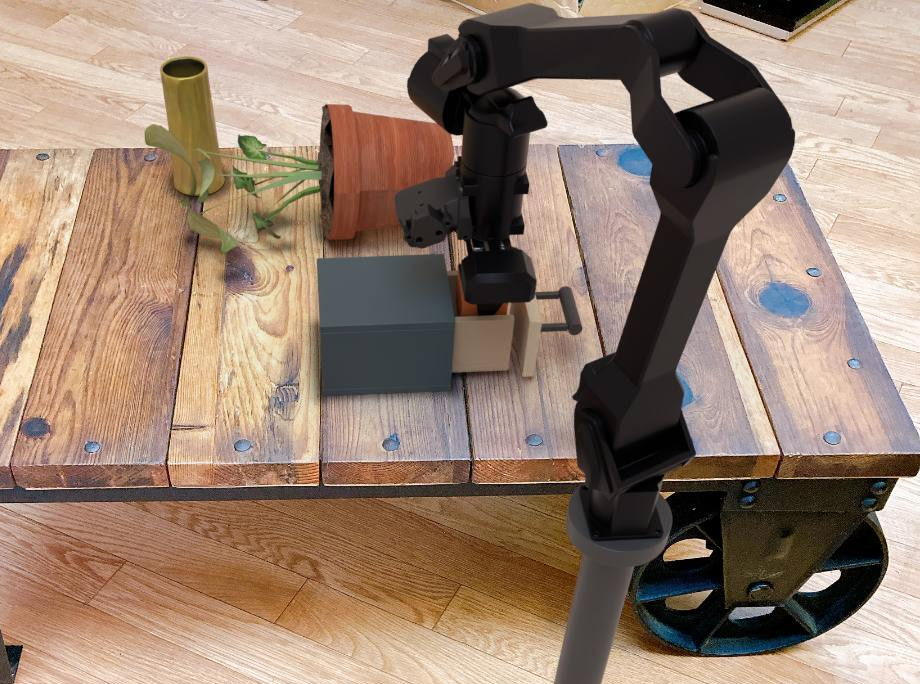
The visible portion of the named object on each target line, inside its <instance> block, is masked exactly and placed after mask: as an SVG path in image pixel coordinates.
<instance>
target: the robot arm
mask: <svg viewBox="0 0 920 684" xmlns="http://www.w3.org/2000/svg"><path fill="white" fill-rule="evenodd" d="M457 31H458V34H457V35H458V36H457V38H456V39H455V38H454V37H452V36H451V35H450V34H448V33H444V34H441V35H437V36H433V37H430V38H428V39H427V51H426V52H424V54H422V55H421V56H420V57H419V58H418V59H417V61H416V62H415V63H414V65H413V66H412V69H411V71H410V74H409V76H408V78H407V79H406V80H407V81H406V89H407V95H408V97H409V100H411V102H412V104H413V105H415V106H416V107H417V108H418V109H419V110H421V112H423V113H424V114H425V115H427V116H428V118H430V119H431V120H432V121H433V122H434V123H437V124H438V125H439V126H441V127H442V128H443V129H444V130H445V131H446V132H448V133H450V134H451V136H458V137H459V136H462V137H461V153H460V154H461V155H458V156H457V160H453V164H452V167H450V168H449V169H448V170H447V171H446V172H445V177H442V178H434V179H431V180H428V181H425V182H422V183H420V184H417V185H414V186H411V187H408V188H406V189H403V190H401V191H399V192H398V193H397V194H396V195H395V198H394V200H395V208H396V215H397V219H398V222H399V224H400V225H399V226H400V229H401V230H402V236H403V240H404V242H406V244H407V245H408V247H410V248H418V249H421V250H422V249H423V250H424V249H425V248H429V247H431V246H435V245H438V244H440V243H443V242H445V240H446V239H447V236H448V235H451V234H453V233H455V234H456V238H457V241H464V242H465V247H466V254H467V255H466V256H465V257H464V258H463V259H461V261H460V263H461V264H460V263H458V264H459V265H458V264H457V269H458V268H459V274H460V279H461V284H462V290H463V296H464V301H466V302H468V303H470V304H477V311H478V316H489V315H495V314H496V312H497V311H498V310H499V309H500V307H501V306H502V305H503V303H508V304H511V303H523V302H530V301H531V300H533V299H534V298H535V292H537V291H536V290H537V283H538V279H537V276H536V272H535V268H534V265H533V264H534V263H533V260H532V257H531V256H529V254H528V253H526V251H524V250H523V249H521V248H518V247H515V246H513V245H512V241H511V237H510V236H524V235H525V225H526V224H525V221H524V217H523V213H522V211H523V210H522V209H523V202H524V201H523V200H524V195H529V191H530V180H529V175H528V172H527V165H528V156H529V145H530V140H531V139H530V138H531V137H530V136H531V133H534V132H537V131H540V130H544V129H546V128H547V127H548V125H549V124H548V123H549V122H548V120H547V117H546V115H545V113H544V112H543V111H542V109H540V108H539V107H538V105H537V103H536V101H535V98H534V97H533V96H532V95H528V96H524V95H523V94H522V93H520V92H519V91H517V90H516V89H515V88H512V87H515V86H520V85H522V84H526V83H529V82H532V81H536V80H541V79H542V80H587V81H588V80H593V81H620V82H621V83H622V85H623V87H624V88H625V90H626V92H627V93H628V94H629V100H630V101H629V102H630V103H629V104H630V120H631V132H632V136H633V138H634V140H636V142H637V144H638V145H639V147H640V148H641V150H642V151H643V153H644V154H645V156H646V157H647V159H648V160H649V162H650V164H651V169H650V170H651V171H650V176H649V181H648V183H649V186H650V189H651V192H652V194H653V196H654V198H655V201H656V205H657V206H658V210H659V212H660V213H659V219H658V222H657V225H656V228H655V231H654V234H653V237H652V240H651V244H650V246H649V249H648V252H647V255H646V258H645V261H644V263H643V264H644V265H643V267H642V270H641V274H640V277H639V280H638V283H637V285H636V289H635V292H634V295H633V297H632V300H631V301H632V302H631V304H630V307H629V310H628V313H627V317H626V319H625V323H624V326H623V329H622V332H621V335H620V337H619V341H618V344H617V346H616V350H615V351H614V352H612V353H609V354H607V355H604V356H602V357H600V358H597V359H594V360H591V361H589V362H587V363H585V364H584V365H583V368H582V369H581V372H580V375H579V383H578V387H577V389H576V391H575V393H573V395H572V396H571V398H572V400H573V401H575V402H576V403H575V405H574V410H573V433H574V434H573V435H574V444H575V454H576V455H575V456H576V457H575V458H576V467H577V468H578V469H579V470H580V471H581V473H583V474H584V478H585V479H584V483H585V485H582V484H580V485H579V486H580V489H579V493H580V498H581V502H582V506H583V510H584V514H585V518H586V522H587V526H588V530H589V534H590V538H591V539H592V540H593V541H616V540H637V539H658V538H661V537H662V536H663V533H664V531H663V527H662V524H661V521H660V517H659V514H658V511H657V507H656V503H657V500H658V496H659V493H660V492H661V490H662V486H663V482H664V479H665V475H666V474H668V473H669V472H672V471H674V470H676V469H679V468H681V467H682V468H683V467H685V466H688V464H689V463H691V462H692V460H693V459H694V458H696V456H697V451H696V448H695V445H694V442H693V439H692V437H691V433H690V431H689V428H688V425H687V422H686V419H685V415H684V413H683V409H682V407H683V403H684V397H685V389H684V386H683V385H682V382H681V380H680V378H679V376H678V374H677V368H678V366H679V364H680V361H681V359H682V356H683V353H684V351H685V349H686V346H687V343H688V341H689V339H690V335H691V333H692V330H693V328H694V326H695V323H696V321H697V318H698V316H699V313H700V310H701V308H702V306H703V303H704V301H705V298H706V296H707V293H708V290H709V288H710V285H711V283H712V280H713V278H714V275H715V273H716V270H717V267H718V265H719V262H720V260H721V257H722V254H723V253H724V250H725V247H726V245H727V243H728V241H729V237H730V235H731V233H732V232H733V230H734V229H735V227H736V226H738V224H739V223H740V222H741V221H742V220H743V219H744V218H745V217H746V216H747V215H748V214H749V213H750V212H751V211H752V210H753V209H754V208H755V207H756V206H758V204H760V202H761V201H762V200H763V199H765V197H767V195H768V194H769V193H770V192H771V190H772V188H773V187H774V185H775V184H776V182H777V181H778V179H779V178H780V176H781V174H782V173H783V171H784V169H785V168H786V166H787V165H788V163H789V161H790V159H791V157H792V155H793V152H794V147H795V143H796V131H795V129H794V127H793V121H792V116H791V115H790V113H789V111H788V109H787V107H786V106H785V105H784V103H783V102H782V101H781V100H780V98H779V96H778V95H777V94H776V92H775V91H774V90H773V88H772V87H771V86H770V84H769V83H768V82H767V80H766V79H765V77H764V76H763V74H762V73H761V72H760V70H759V68H758V67H757V66H756V65H755V64H753V62H751V61H750V60H748V59H746V58H744V57H743V56H742V55H740V54H738V53H737V52H736V51H734V50H732V49H731V48H729V47H727V46H726V45H724V44H723V43H721V42H720V41H718V40H716V39H715V38H713V37H711V36H710V34H709V33H708V32H707V30H706V29H705V27H704V26H703V24H702V23H701V22H700V21H699V19H698V18H697V17H696V15H695V14H693V13H692V12H691V11H690V10H686V9H682V8H678V7H671V8H667V9H664V10H661V11H658V12H657V11H656V12H649V13H632V14H616V15H615V14H613V15H599V16H581V17H563V16H560V15H559V14H558V11H557V10H556V9H554V8H553V7H549V6H545V5H541V4H537V3H533V2H526V3H523V4H519V5H516V6H512V7H508V8H504V9H501V10H497V11H493V12H488V13H485V14H481V15H477V16H473V17H470V18H466V19H464V20H462V21H461V22H460V23H459V25H458V27H457ZM673 74H677V75H678V76H679V78H680V79H681V80H682V81H683V82H685V83H686V84H688V85H689V86H691V87H693V88H694V89H696V90H698V91H699V92H701V93H702V94H703V95H705V96H707V97H708V98H710V99H711V100H708V101H706V102H702V103H699V104H697V105H694V106H690V107H687V108H684V109H681V110H679V111H676V112H674V111H673V110H672V108H671V107H670V106H669V104H668V102H667V101H666V100H665V98H664V96H663V95H662V82H661V78H665V77H667V76H670V75H673ZM584 490H587V491H584ZM660 494H661V493H660ZM656 532H659V533H656ZM594 535H597V536H594Z"/></svg>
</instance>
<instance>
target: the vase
mask: <svg viewBox="0 0 920 684" xmlns="http://www.w3.org/2000/svg"><path fill="white" fill-rule="evenodd" d="M159 72H160V79H161V80H160V81H161V86H162V92H163V99H164V106H165V112H166V120H167V128H168V131H170V132H171V133H172V134H173V135H174V136H175V137H176V138H177V139H178V140H179V141H180V143H181V145H182V146H183V148H184V149H185V148H186V149H185V151H186V154H187V156H188V159H189V162H190V165H191V167H192V169H191V168H190V166H189V165H188V164H187V163H186V162H185V161H184V160H183V159H182V158H180V157H178V156H176V155H175V154H173V153H171V152H170V153H171V154H170V155H171V163H172V172H173V173H172V174H173V186H174V188H175V189H176V190H177V191H178V192H179V193H181V194H183V195H187V196H191V195H190V192H191V191H192V185H193V175H192V170H193V172H194V174H195V176H196V181H197V190H196V193H195V195H194V196H193V195H192V196H193V197H200V191H201V185H202V169H201V167H200V164H199V163H198V162H199V161H203V160H205V158H206V156H205V155H203V154H202V153H201V152H199V150H198V151H194V150H196V149H195V148H200V149H202V150H203V151H204V152H211V153H217V154H221V151H220V146H219V138H218V132H217V125H216V118H215V111H214V105H213V98H212V92H211V91H212V90H211V85H210V77H209V68H208V63H206V61H205V60H203V58H202V59H201V58H199V57H195V56H188V55H187V56H186V55H185V56H176V57H172V58H169V59H167V60H166V61H164V62H162V64H161V65H160V67H159ZM190 149H192V150H190ZM207 155H208V156H209V158H210V160H211V163H212V165H213V167H214V169H215V171H214V175H224V173H223V167H222V158H221V157H222V156H218V155H213V154H208V153H207ZM197 161H198V162H197ZM225 181H226V180H225V176H214V177H213V181H212V183H211V184H210V185H209V187H208V192H209V195H211V194H213V193H215V192H218V191H219V190H220V189H221V188H222V187H223V185H224V184H225Z"/></svg>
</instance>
